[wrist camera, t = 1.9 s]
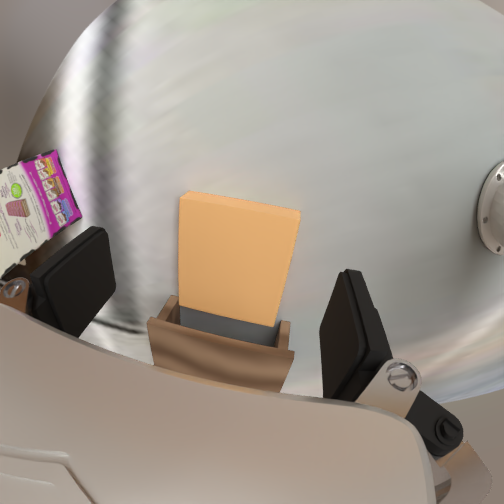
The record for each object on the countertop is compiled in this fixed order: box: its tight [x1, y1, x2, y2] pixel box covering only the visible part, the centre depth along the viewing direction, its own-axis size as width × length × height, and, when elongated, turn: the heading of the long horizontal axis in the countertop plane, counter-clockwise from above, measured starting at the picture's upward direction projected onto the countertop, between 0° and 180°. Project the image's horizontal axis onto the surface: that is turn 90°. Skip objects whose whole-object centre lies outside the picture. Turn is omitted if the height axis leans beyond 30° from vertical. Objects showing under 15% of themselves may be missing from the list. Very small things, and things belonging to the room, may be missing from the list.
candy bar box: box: [0, 149, 82, 278], centre depth 24 cm, size 11×5×16 cm, turn 18°
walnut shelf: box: [147, 295, 294, 393], centre depth 35 cm, size 12×18×6 cm, turn 82°
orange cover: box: [178, 191, 300, 327], centre depth 30 cm, size 14×12×3 cm
